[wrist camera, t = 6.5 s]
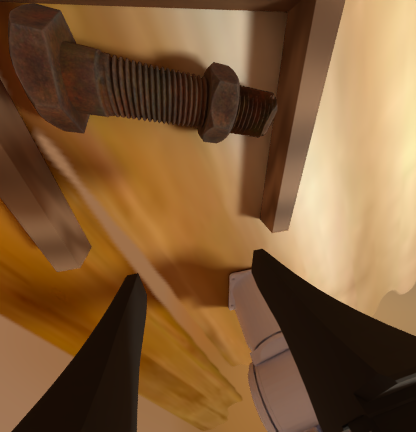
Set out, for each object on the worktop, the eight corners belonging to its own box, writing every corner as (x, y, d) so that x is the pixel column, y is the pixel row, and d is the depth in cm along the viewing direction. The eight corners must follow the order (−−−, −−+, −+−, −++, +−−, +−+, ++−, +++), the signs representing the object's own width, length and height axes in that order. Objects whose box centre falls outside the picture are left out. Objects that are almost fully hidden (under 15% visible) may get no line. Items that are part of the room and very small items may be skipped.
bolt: (245, 123, 18) (72, 94, 13) (273, 63, 13) (33, -8, 9) (261, 165, 15) (50, 145, 11) (303, 104, 11) (-20, 31, 6)
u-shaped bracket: (274, 216, 22) (288, 230, 20) (71, 250, 19) (57, 272, 16) (320, -31, 12) (362, -70, 9) (-130, -67, 8) (-262, -146, 6)
